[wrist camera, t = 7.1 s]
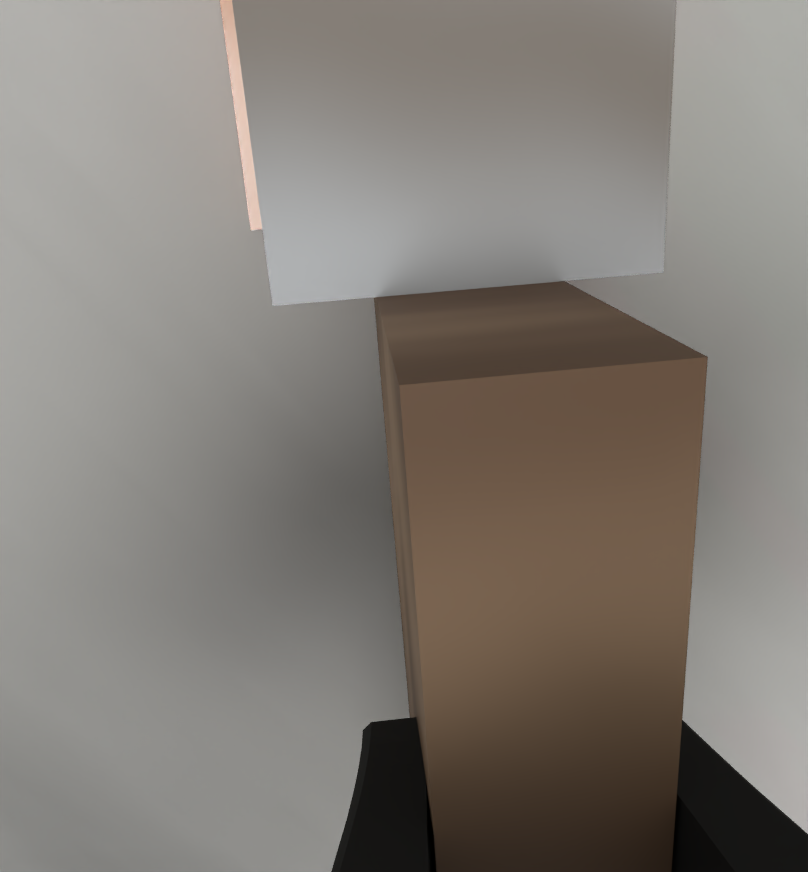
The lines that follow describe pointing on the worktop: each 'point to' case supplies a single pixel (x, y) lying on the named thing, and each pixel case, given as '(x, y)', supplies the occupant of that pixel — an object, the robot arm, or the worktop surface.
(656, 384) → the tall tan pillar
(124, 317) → the worktop surface
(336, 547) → the worktop surface
